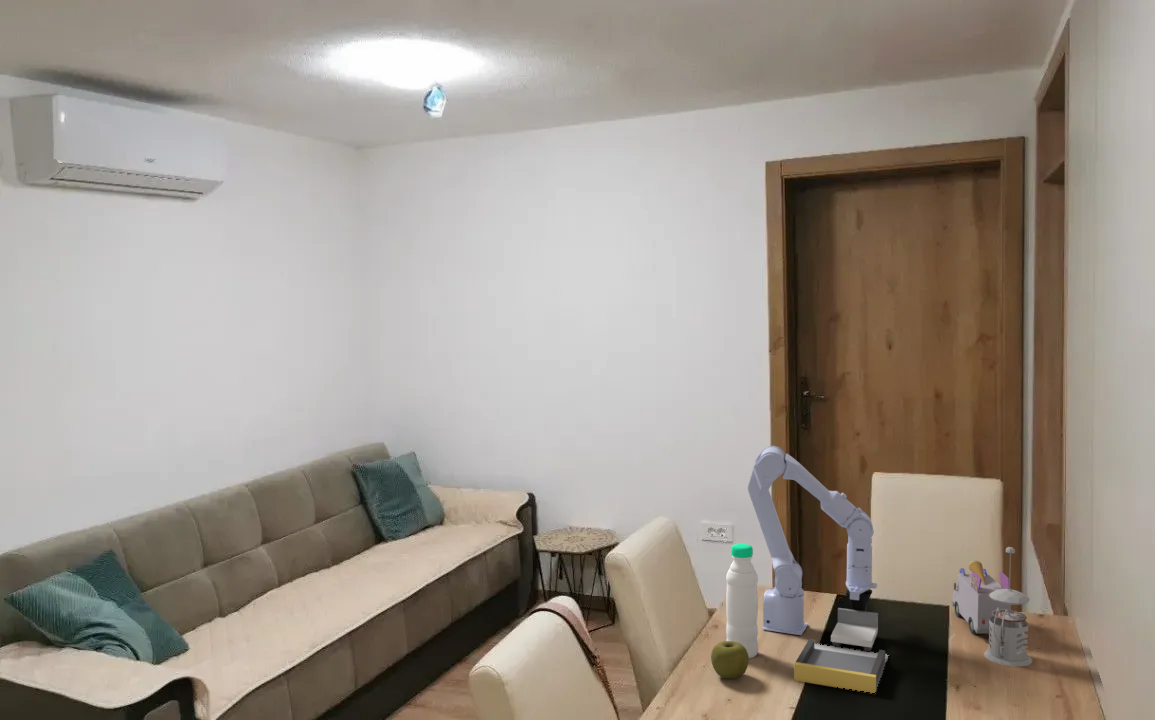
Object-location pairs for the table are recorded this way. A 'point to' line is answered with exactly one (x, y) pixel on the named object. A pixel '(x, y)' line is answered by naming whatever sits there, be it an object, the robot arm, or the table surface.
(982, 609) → the toy vehicle
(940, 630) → the table surface
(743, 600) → the water bottle
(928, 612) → the table surface
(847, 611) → the grey angled piece
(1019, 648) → the french press
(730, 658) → the apple
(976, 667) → the table surface
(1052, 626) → the table surface
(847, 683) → the dock
